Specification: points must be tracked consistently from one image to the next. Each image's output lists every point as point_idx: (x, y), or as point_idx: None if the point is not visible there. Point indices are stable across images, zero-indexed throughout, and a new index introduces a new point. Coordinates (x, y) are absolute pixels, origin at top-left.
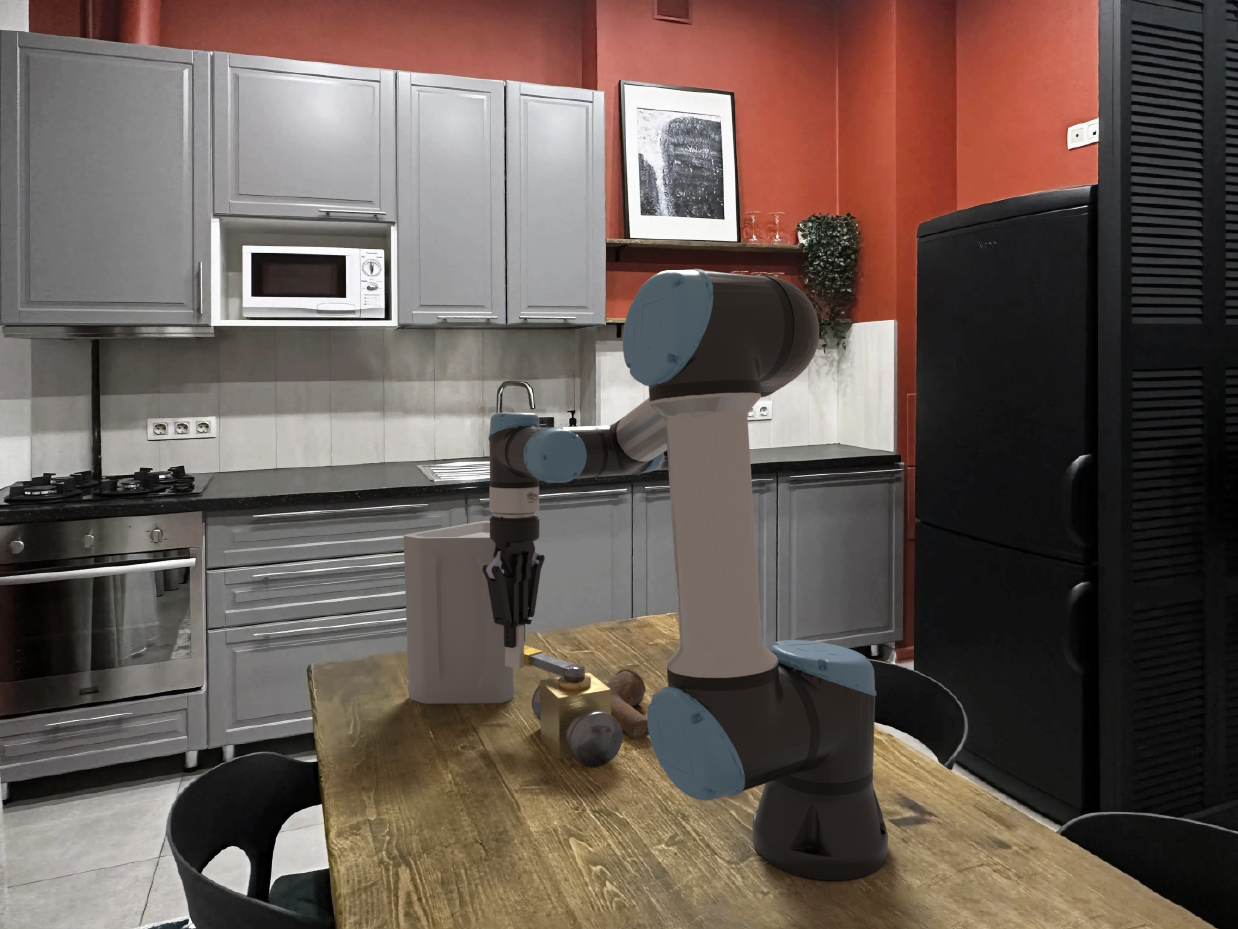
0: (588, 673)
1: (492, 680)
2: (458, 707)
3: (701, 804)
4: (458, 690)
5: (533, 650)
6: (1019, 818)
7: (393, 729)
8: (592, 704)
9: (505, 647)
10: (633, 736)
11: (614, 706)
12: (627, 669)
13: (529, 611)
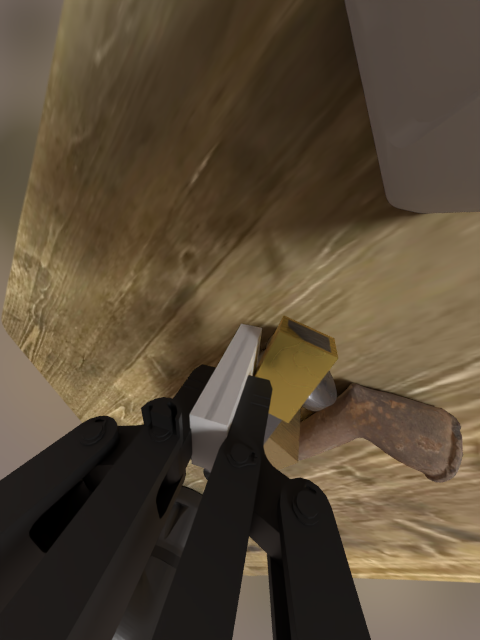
0: (293, 461)
1: (404, 174)
2: (336, 115)
3: (200, 468)
4: (373, 71)
5: (284, 403)
6: (259, 573)
7: (179, 67)
8: None
9: (225, 353)
10: None
11: (323, 432)
12: (449, 475)
13: (267, 558)
